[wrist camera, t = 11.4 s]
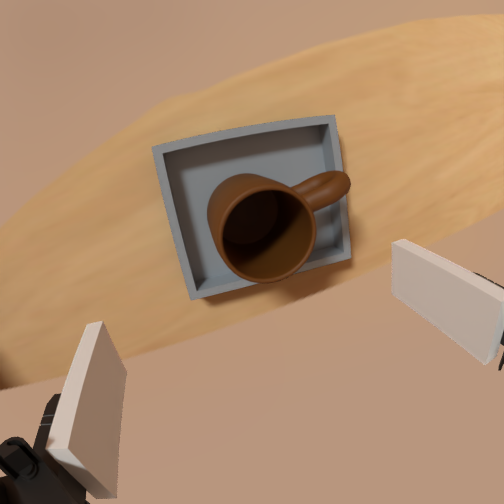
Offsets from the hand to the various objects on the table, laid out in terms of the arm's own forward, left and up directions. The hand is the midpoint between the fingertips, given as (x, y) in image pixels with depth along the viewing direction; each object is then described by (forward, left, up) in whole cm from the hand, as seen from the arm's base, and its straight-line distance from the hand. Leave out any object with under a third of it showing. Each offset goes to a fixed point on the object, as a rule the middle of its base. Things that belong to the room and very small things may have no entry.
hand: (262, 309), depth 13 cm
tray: (+4, 0, -20) cm, 20 cm away
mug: (+5, +1, -19) cm, 20 cm away
